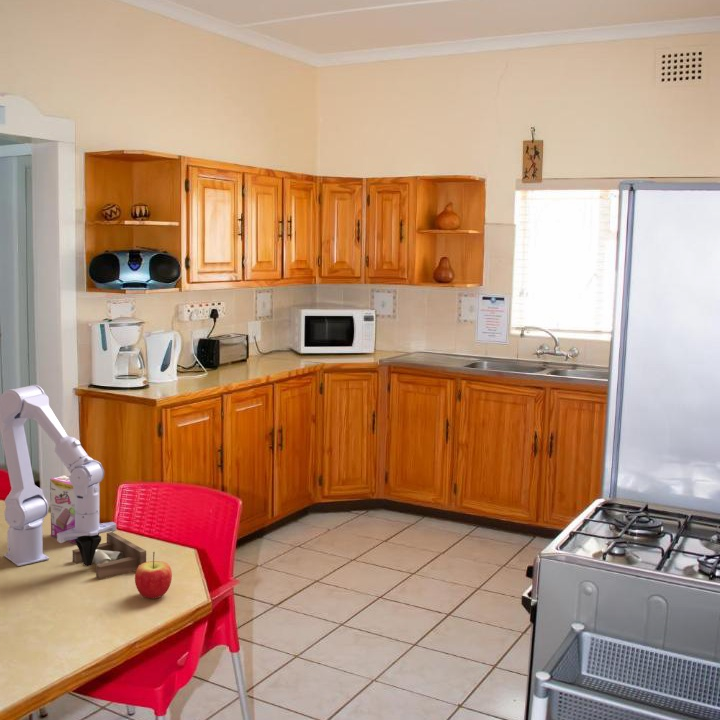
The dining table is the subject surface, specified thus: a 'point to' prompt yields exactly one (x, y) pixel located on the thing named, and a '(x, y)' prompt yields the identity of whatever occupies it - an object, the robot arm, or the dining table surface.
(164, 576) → the apple
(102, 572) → the fitting jig
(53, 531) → the candy bar box
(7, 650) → the dining table surface
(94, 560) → the pipe fitting
